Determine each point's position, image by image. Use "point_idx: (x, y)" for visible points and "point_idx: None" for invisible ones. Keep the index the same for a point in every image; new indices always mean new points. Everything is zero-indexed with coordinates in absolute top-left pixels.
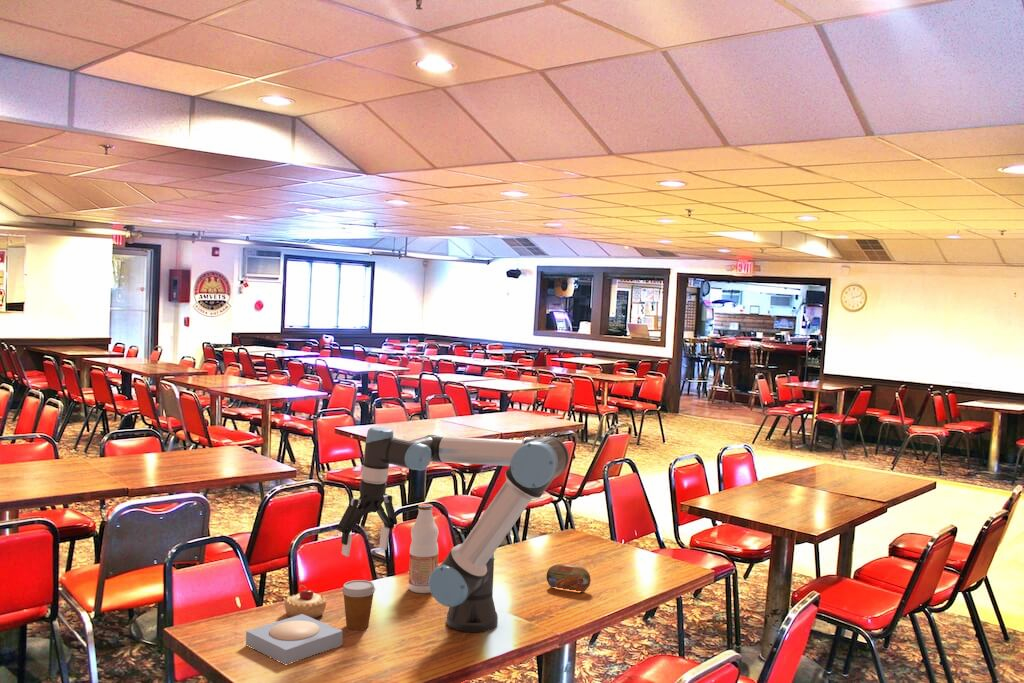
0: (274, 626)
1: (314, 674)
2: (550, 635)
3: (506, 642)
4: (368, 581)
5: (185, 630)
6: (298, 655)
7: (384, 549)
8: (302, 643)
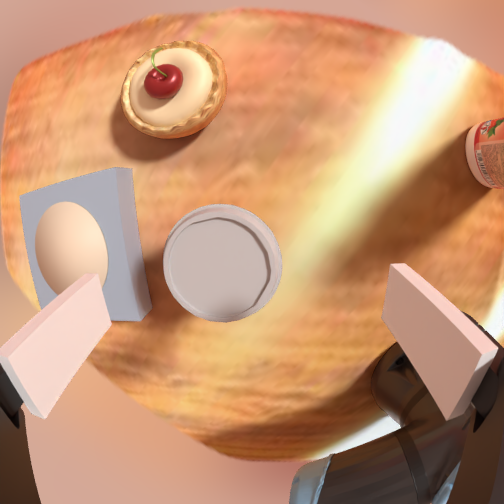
0: (47, 212)
1: None
2: None
3: None
4: (270, 262)
5: (21, 84)
6: None
7: (383, 316)
8: None
